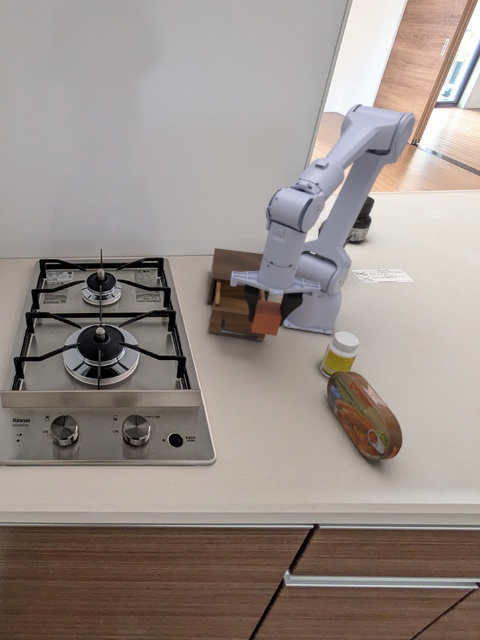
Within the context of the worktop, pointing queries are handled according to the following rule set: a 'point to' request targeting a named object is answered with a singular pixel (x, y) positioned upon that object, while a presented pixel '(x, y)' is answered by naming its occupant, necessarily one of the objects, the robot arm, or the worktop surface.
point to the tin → (364, 416)
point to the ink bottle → (362, 222)
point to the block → (266, 318)
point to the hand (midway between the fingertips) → (264, 320)
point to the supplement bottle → (340, 353)
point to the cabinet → (231, 267)
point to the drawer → (232, 313)
